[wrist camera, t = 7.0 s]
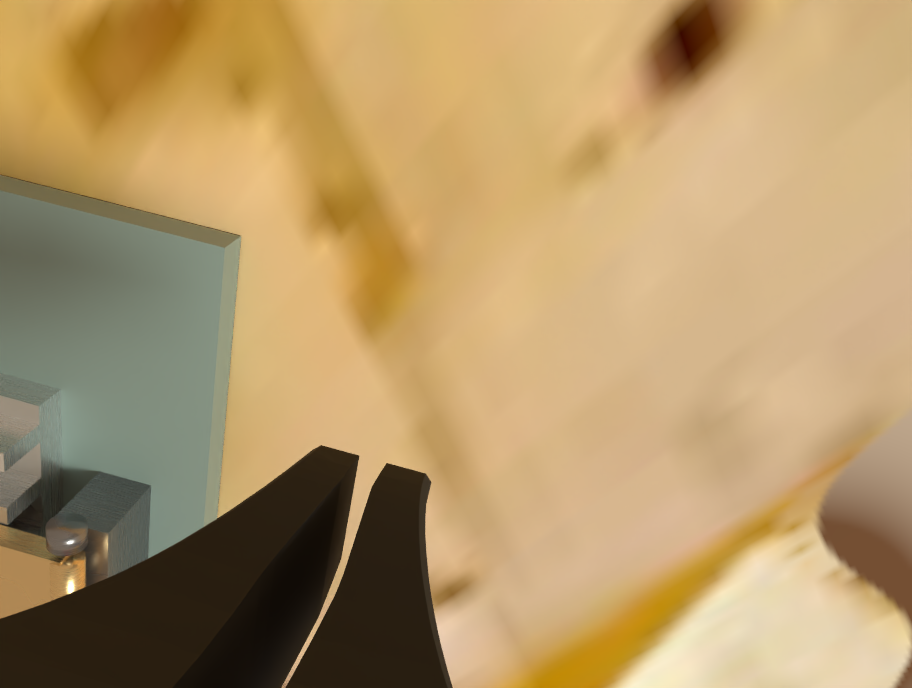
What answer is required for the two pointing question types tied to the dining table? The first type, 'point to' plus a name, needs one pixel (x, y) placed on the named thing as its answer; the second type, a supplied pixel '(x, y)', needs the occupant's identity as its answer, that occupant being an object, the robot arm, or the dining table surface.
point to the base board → (123, 342)
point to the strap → (34, 572)
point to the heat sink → (41, 488)
